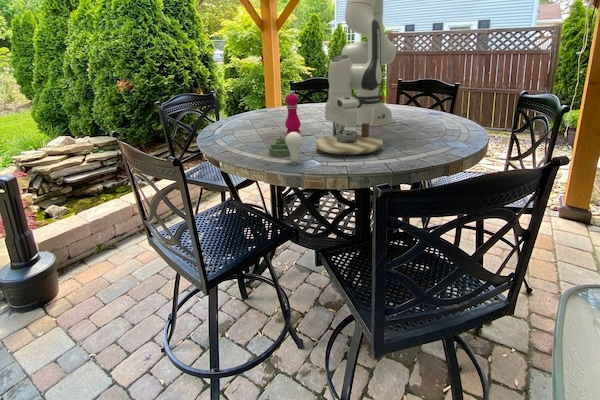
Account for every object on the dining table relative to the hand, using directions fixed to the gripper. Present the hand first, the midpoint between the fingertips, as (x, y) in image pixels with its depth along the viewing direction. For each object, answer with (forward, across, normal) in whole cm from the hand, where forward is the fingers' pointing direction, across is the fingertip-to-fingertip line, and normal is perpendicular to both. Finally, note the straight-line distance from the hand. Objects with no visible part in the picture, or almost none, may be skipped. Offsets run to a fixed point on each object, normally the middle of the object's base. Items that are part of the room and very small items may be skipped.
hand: (339, 134), depth 151 cm
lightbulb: (+5, +11, -25) cm, 28 cm away
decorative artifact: (+5, -2, -25) cm, 25 cm away
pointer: (+5, -9, +3) cm, 11 cm away
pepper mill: (+5, -31, -8) cm, 32 cm away
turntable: (+3, +7, 0) cm, 8 cm away
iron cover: (+1, +5, 0) cm, 6 cm away
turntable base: (+5, +7, 0) cm, 8 cm away
